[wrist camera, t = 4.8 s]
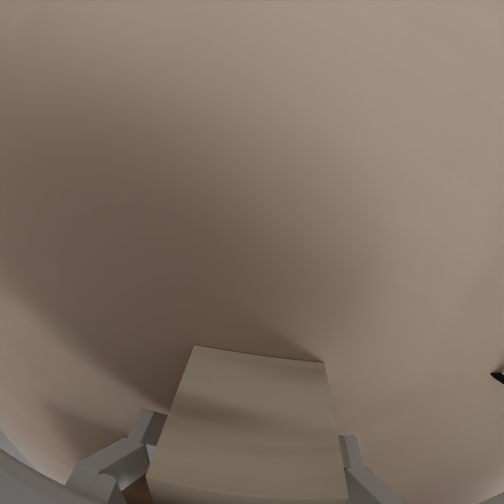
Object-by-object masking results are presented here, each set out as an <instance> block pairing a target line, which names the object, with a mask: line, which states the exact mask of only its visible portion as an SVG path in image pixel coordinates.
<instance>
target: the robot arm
mask: <svg viewBox="0 0 504 504" xmlns="http://www.w3.org/2000/svg"><path fill="white" fill-rule="evenodd" d="M167 416H168V415H165V414H161V413H158V412H154V411H150V410H147V409H142V410H141V411H140V412H139V414H138V416H137V418H136V421H135V423H134V425H133V427H132V429H131V431H130V433H129V436H128V438H122V439H120V440H118V441H116V442H115V443H113V444H111V445H109V446H107V447H105V448H103V449H102V450H100V451H98V452H96V453H94V454H92V455H90V456H88V457H86V458H84V459H82V460H80V461H78V462H77V464H76V466H75V468H74V470H73V472H72V473H71V475H70V477H69V479H68V481H67V483H66V485H62V484H60V483H58V482H56V481H55V480H53V479H51V478H49V477H47V476H45V475H43V474H41V473H40V472H38V471H36V470H34V469H32V468H31V467H29V466H27V465H25V464H24V463H22V462H21V461H19V460H17V459H16V458H14V457H13V456H11V455H10V454H8V453H7V452H5V451H4V450H2V449H1V448H0V504H127V502H126V500H125V498H124V496H123V494H122V492H121V491H122V490H123V489H125V488H126V487H127V486H129V485H130V484H132V483H133V482H134V481H136V480H137V479H138V478H140V477H141V476H142V475H144V474H145V473H146V472H147V471H148V468H149V465H150V463H151V460H152V457H153V454H154V452H155V449H156V446H157V443H158V441H159V438H160V435H161V432H162V430H163V427H164V424H165V422H166V419H167ZM338 437H339V443H340V448H341V454H342V460H343V466H344V472H345V479H346V485H347V492H348V499H347V500H346V502H345V503H344V504H404V503H403V500H402V499H401V498H400V497H399V496H397V495H396V494H395V493H394V492H393V491H392V490H391V489H390V488H388V487H387V486H386V485H385V484H384V483H383V482H382V481H381V480H380V479H379V478H377V477H376V476H375V475H374V474H373V473H372V472H371V471H370V470H369V469H368V468H367V467H363V465H362V460H361V456H360V452H359V447H358V443H357V439H356V437H355V436H341V435H338ZM477 504H504V492H503V493H501V494H498V495H496V496H494V497H492V498H489V499H487V500H485V501H482V502H480V503H477Z"/></svg>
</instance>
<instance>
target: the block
mask: <svg viewBox="0 0 504 504" xmlns="http://www.w3.org/2000/svg"><path fill="white" fill-rule="evenodd" d="M146 480H147V484H148V487H149V490H150V494H151V497H152V500H153V503H154V504H344V503H345V502H346V500H347V499H348V492H347V485H346V479H345V472H344V466H343V460H342V454H341V448H340V443H339V437H338V431H337V426H336V420H335V415H334V410H333V405H332V399H331V394H330V389H329V384H328V379H327V374H326V370H325V365H324V363H323V362H312V361H302V360H292V359H284V358H275V357H267V356H260V355H253V354H246V353H239V352H233V351H226V350H220V349H214V348H209V347H203V346H198V345H194V348H193V350H192V353H191V355H190V358H189V361H188V363H187V366H186V368H185V371H184V374H183V376H182V379H181V382H180V384H179V387H178V390H177V392H176V395H175V397H174V400H173V403H172V405H171V408H170V411H169V414H168V416H167V419H166V422H165V424H164V427H163V430H162V432H161V435H160V438H159V441H158V443H157V446H156V449H155V452H154V454H153V457H152V460H151V463H150V465H149V468H148V471H147V474H146Z"/></svg>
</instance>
